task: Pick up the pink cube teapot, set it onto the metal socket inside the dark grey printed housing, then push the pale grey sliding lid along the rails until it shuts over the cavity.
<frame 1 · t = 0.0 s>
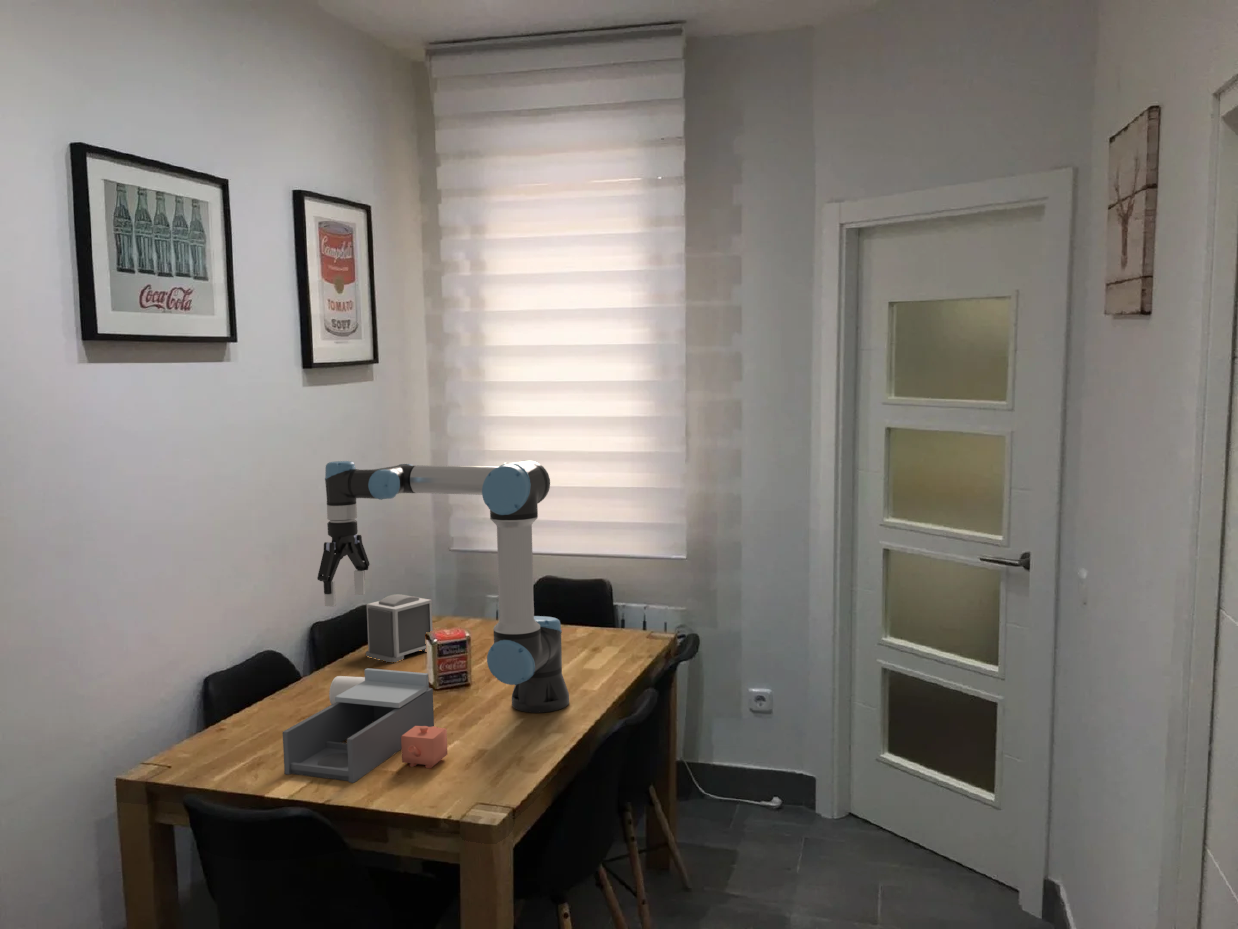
hand: (345, 600, 255), 28 cm above the table, fingers open, 13 cm apart
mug: (357, 705, 257), on the table
grey panelled box: (401, 654, 305), on the table
pink cube teapot: (424, 764, 216), on the table
lid: (382, 687, 233), point 12 cm above the table, slide at 19.0 cm
housing: (338, 765, 216), on the table
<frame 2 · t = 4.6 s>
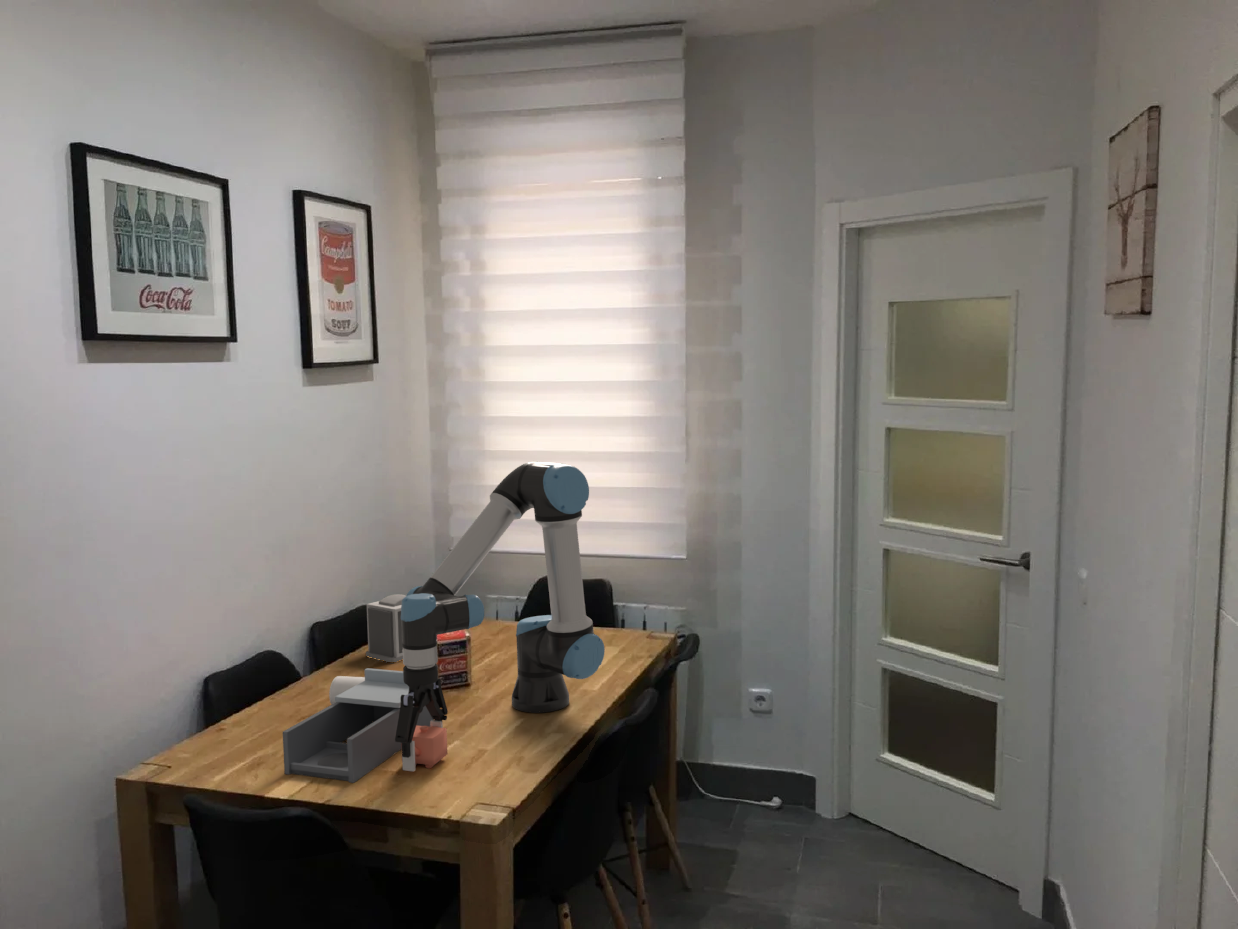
hand: (423, 759, 216), 1 cm above the table, fingers closed on pink cube teapot, 12 cm apart
pink cube teapot: (423, 764, 216), on the table, touching gripper
everything else where it was.
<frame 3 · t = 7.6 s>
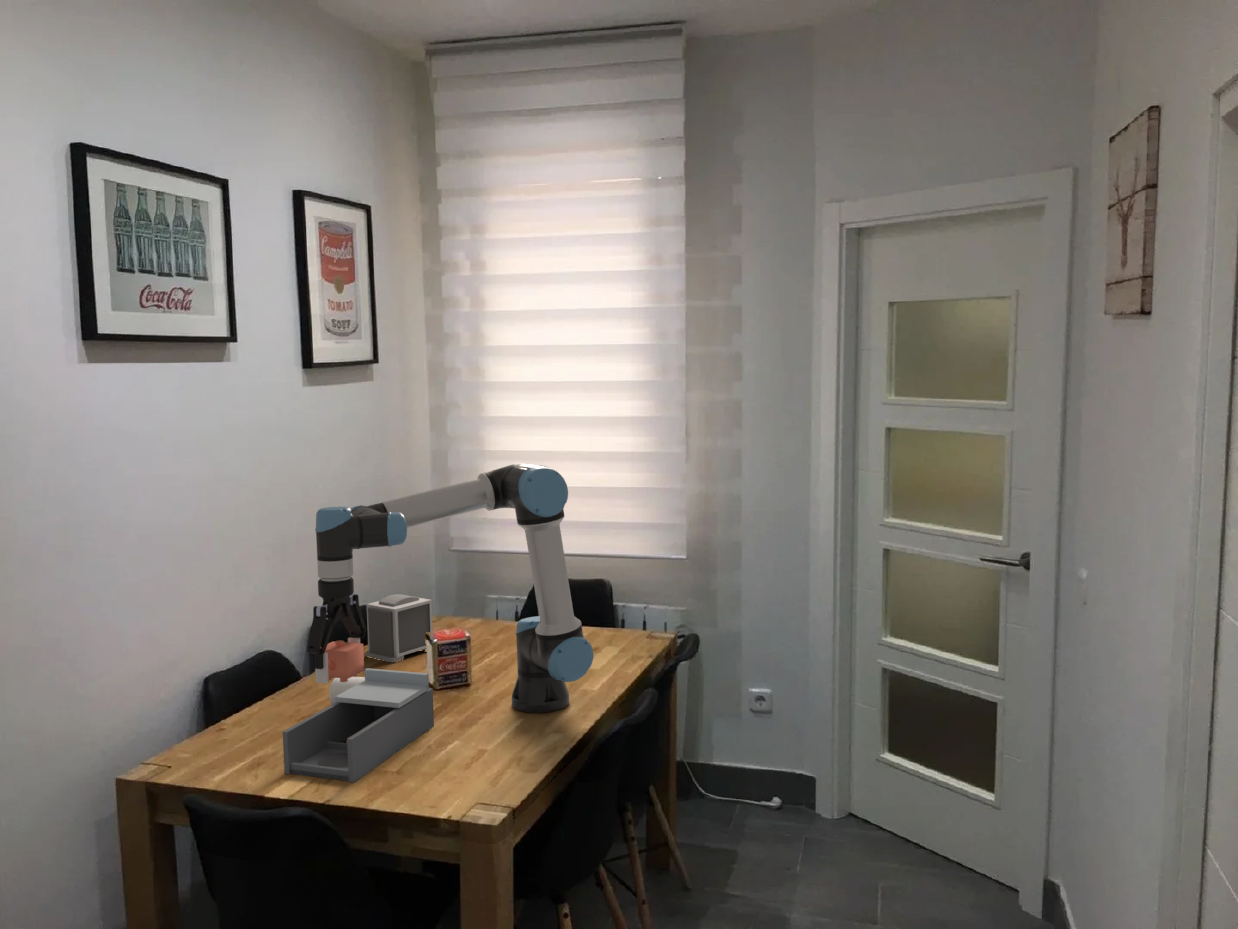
hand: (339, 674, 214), 21 cm above the table, fingers closed on pink cube teapot, 12 cm apart
pink cube teapot: (339, 679, 214), point 20 cm above the table, touching gripper
everything else where it was.
when the fingers open (4 cm above the table, at t = 10.9 s): pink cube teapot drops 2 cm, resting on housing.
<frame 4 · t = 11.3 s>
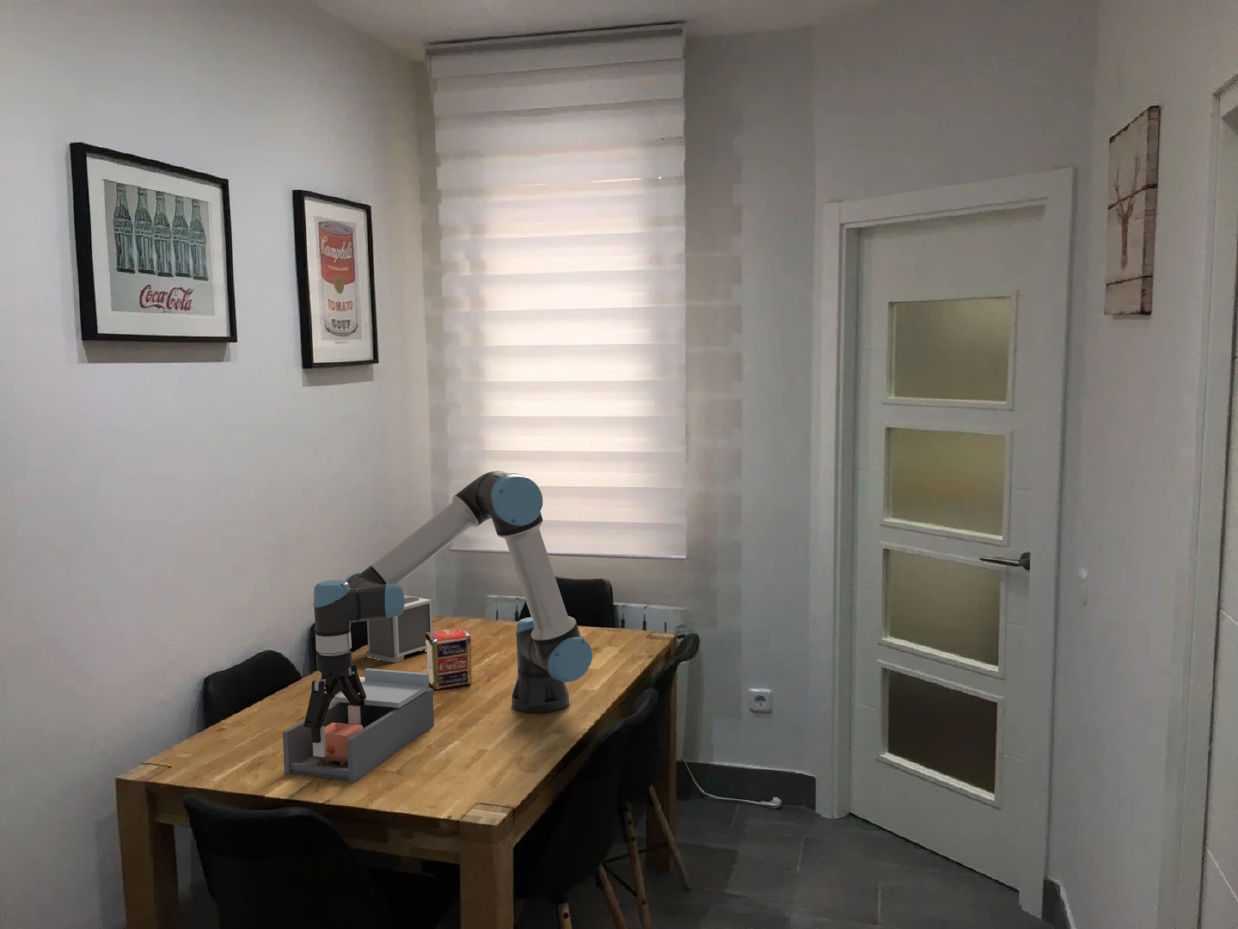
hand: (337, 744, 215), 5 cm above the table, fingers open, 13 cm apart
pink cube teapot: (339, 761, 216), point 1 cm above the table, touching housing
everything else where it was.
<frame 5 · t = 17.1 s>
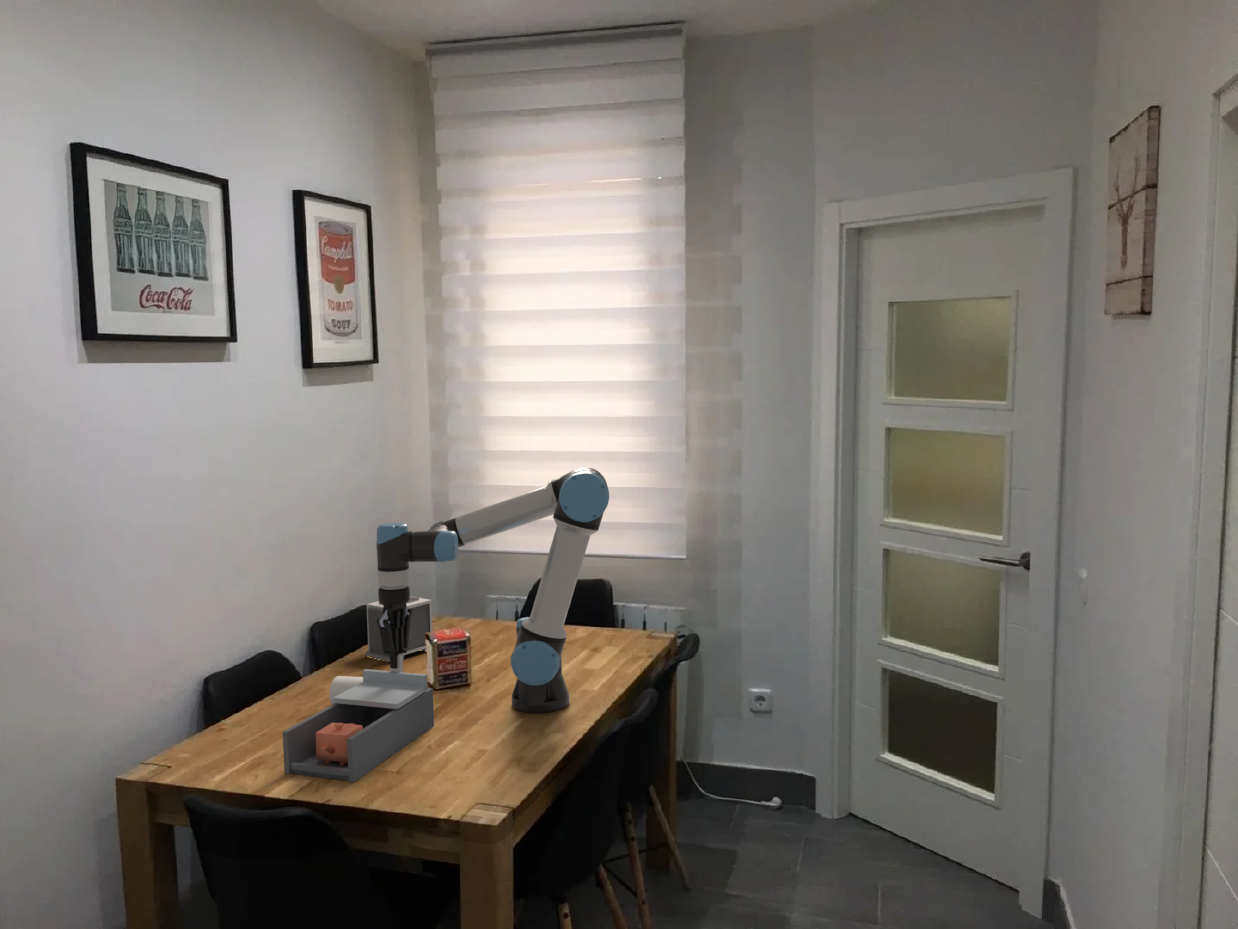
hand: (397, 679, 239), 12 cm above the table, fingers closed
lid: (380, 688, 232), point 12 cm above the table, slide at 18.2 cm, touching gripper
everything else where it was.
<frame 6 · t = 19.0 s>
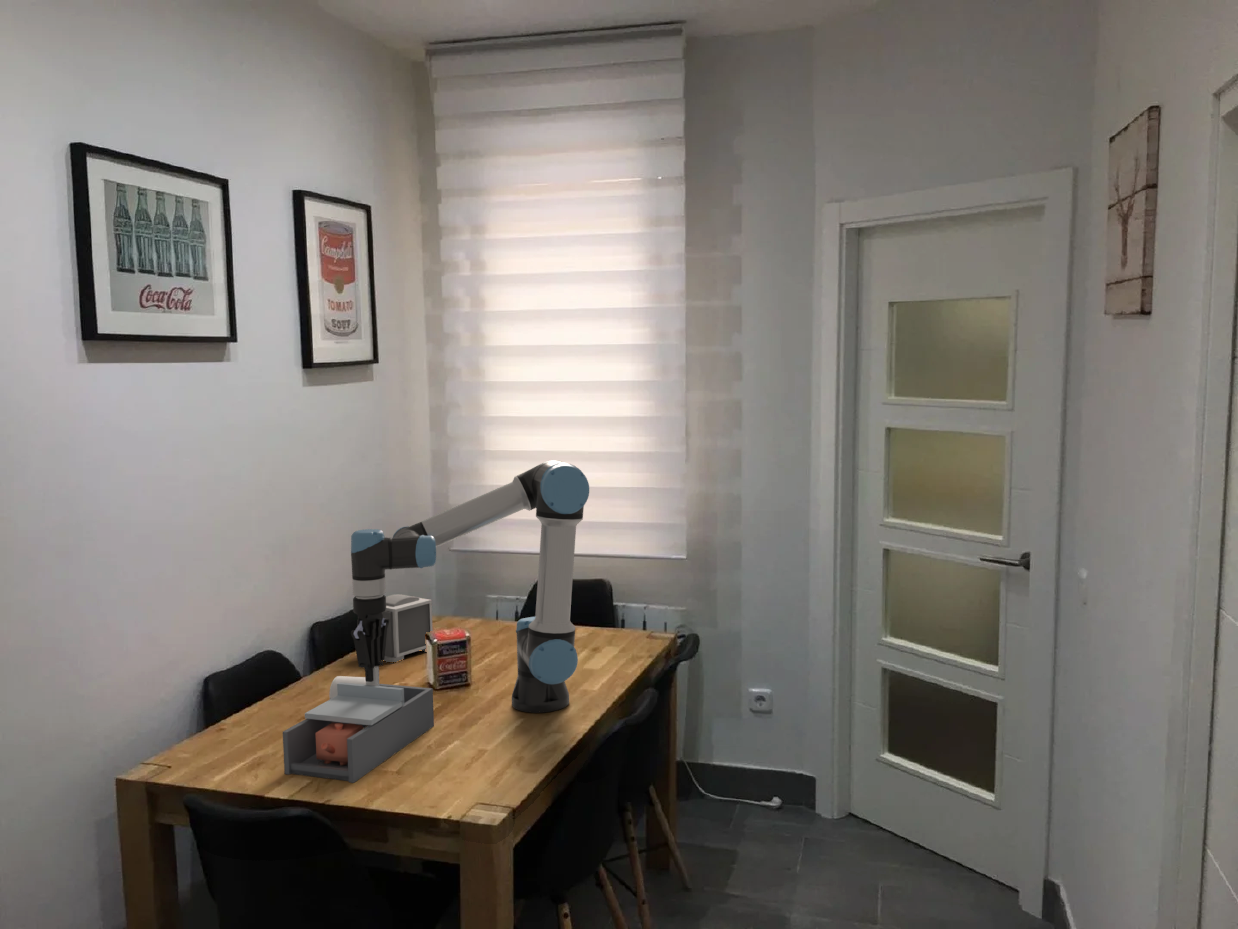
hand: (372, 693, 229), 12 cm above the table, fingers closed
lid: (355, 703, 222), point 12 cm above the table, slide at 7.3 cm, touching gripper
everything else where it was.
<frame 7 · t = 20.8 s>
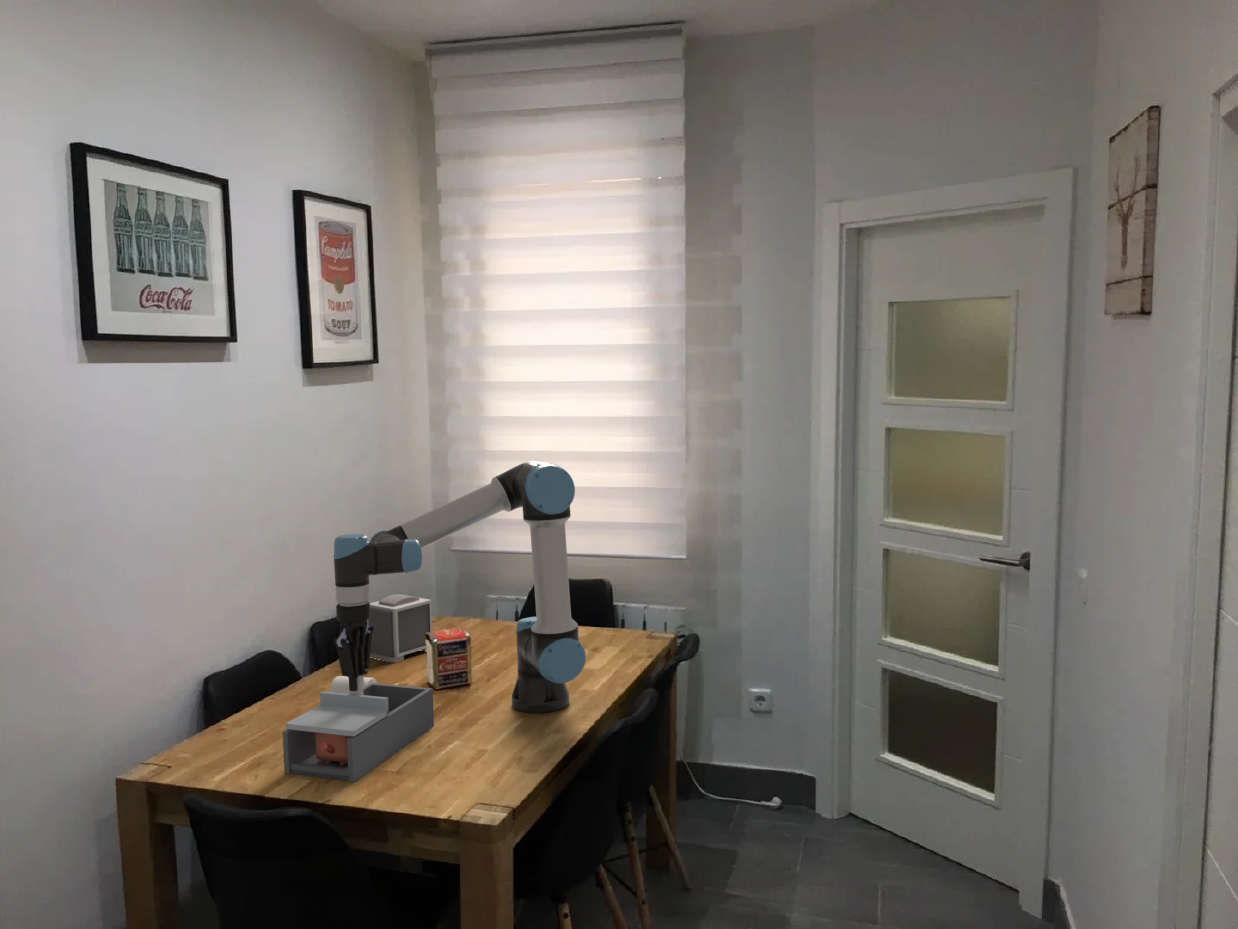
hand: (357, 703, 223), 11 cm above the table, fingers closed
lid: (337, 713, 215), point 12 cm above the table, slide at 0.5 cm, touching gripper
everything else where it was.
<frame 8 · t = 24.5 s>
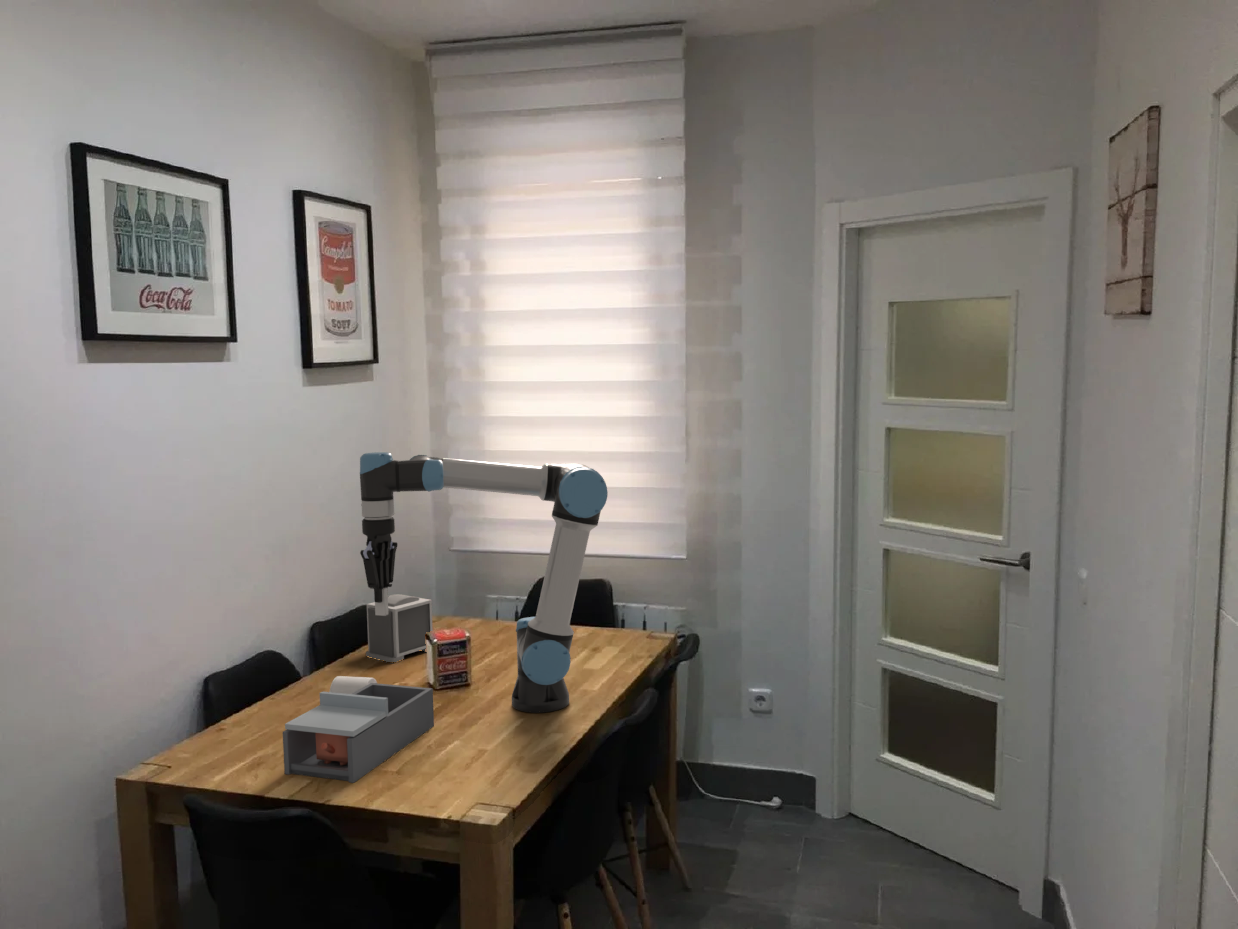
hand: (381, 614, 232), 29 cm above the table, fingers closed
lid: (337, 713, 215), point 12 cm above the table, slide at 0.3 cm
everything else where it was.
at the end: lid slide at 0.3 cm; pink cube teapot inside the target area on the housing (0.1 cm from its centre), point 0.8 cm above the housing's base; pink cube teapot tilted 0° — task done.
